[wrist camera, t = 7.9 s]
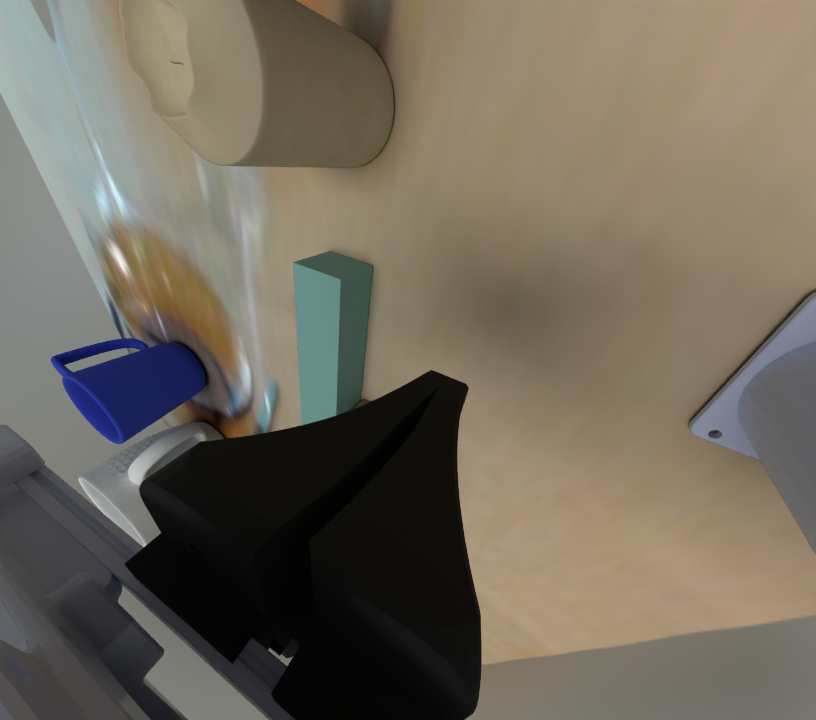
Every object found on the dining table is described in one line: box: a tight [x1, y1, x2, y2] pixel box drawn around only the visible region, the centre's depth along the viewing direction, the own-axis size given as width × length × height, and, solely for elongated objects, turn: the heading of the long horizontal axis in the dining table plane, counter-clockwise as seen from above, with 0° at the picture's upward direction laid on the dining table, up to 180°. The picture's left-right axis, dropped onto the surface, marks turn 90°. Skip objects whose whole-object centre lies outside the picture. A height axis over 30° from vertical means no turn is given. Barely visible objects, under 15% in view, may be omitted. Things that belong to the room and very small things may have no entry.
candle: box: [119, 0, 394, 168], centre depth 13 cm, size 6×6×10 cm
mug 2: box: [79, 422, 224, 547], centre depth 40 cm, size 15×11×13 cm
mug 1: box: [51, 339, 206, 444], centre depth 36 cm, size 8×12×10 cm
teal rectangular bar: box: [293, 251, 373, 425], centre depth 26 cm, size 4×22×4 cm, turn 170°
